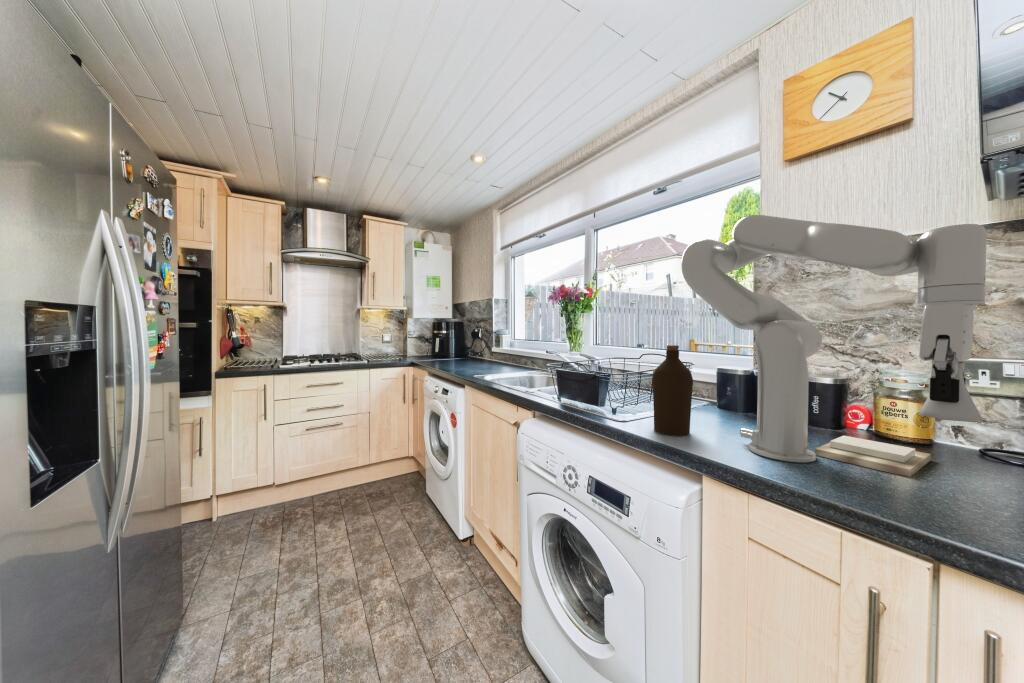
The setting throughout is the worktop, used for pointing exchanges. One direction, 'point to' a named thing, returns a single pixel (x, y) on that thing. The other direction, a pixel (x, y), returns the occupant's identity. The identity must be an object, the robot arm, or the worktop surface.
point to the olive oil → (672, 395)
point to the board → (876, 460)
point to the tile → (873, 448)
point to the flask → (953, 405)
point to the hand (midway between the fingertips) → (947, 398)
